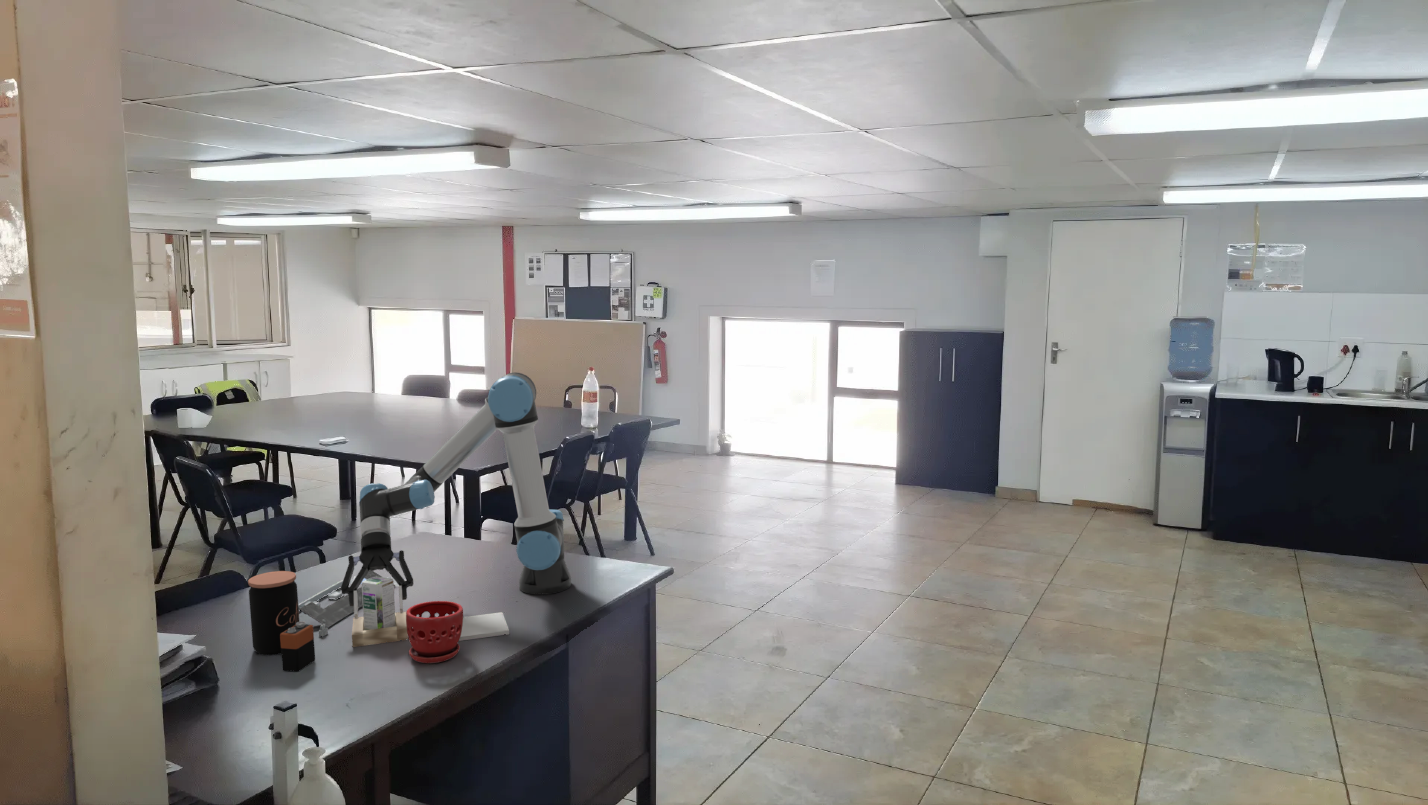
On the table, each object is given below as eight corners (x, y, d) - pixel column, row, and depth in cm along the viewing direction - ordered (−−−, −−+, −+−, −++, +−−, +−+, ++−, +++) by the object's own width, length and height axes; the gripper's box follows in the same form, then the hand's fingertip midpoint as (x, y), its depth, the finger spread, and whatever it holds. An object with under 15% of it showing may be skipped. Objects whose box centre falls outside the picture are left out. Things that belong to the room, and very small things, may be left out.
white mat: (502, 615, 245) (502, 612, 245) (509, 634, 232) (509, 630, 232) (448, 622, 240) (448, 619, 240) (452, 641, 227) (452, 638, 227)
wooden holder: (406, 622, 241) (405, 611, 241) (407, 639, 229) (407, 628, 228) (353, 628, 237) (353, 617, 236) (352, 647, 224) (351, 635, 224)
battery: (316, 660, 216) (313, 620, 215) (298, 672, 210) (295, 631, 209) (300, 659, 217) (297, 619, 216) (281, 671, 211) (278, 630, 209)
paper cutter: (258, 634, 234) (256, 614, 234) (355, 579, 278) (354, 562, 277) (321, 638, 231) (320, 618, 230) (410, 582, 275) (409, 565, 274)
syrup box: (363, 637, 231) (360, 582, 229) (379, 628, 237) (376, 575, 235) (381, 639, 229) (378, 584, 227) (397, 631, 234) (394, 577, 233)
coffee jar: (282, 658, 218) (276, 585, 216) (243, 654, 220) (237, 583, 218) (310, 641, 229) (305, 572, 226) (272, 638, 231) (267, 569, 228)
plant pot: (434, 671, 210) (431, 622, 208) (396, 660, 217) (393, 611, 215) (476, 652, 221) (474, 605, 219) (439, 641, 228) (436, 595, 226)
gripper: (420, 540, 248) (425, 614, 236) (330, 549, 241) (331, 626, 228) (420, 526, 243) (425, 601, 230) (328, 534, 235) (329, 613, 222)
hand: (378, 613), depth 229 cm, fingers open, 10 cm apart
